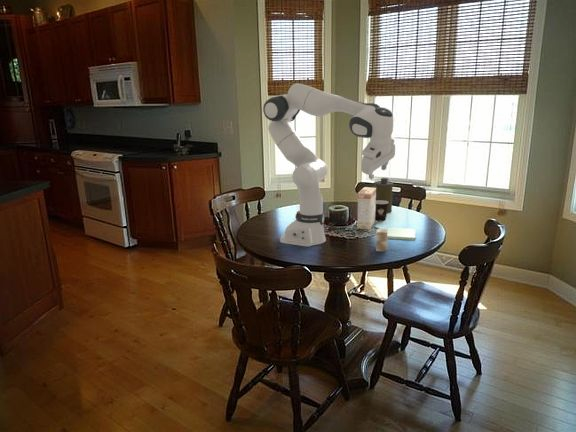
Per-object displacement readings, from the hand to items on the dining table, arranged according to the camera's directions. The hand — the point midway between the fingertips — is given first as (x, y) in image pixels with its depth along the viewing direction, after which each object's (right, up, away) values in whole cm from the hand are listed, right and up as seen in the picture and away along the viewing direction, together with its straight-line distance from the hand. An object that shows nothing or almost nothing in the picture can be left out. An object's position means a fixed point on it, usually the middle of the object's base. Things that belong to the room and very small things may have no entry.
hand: (377, 173), depth 186 cm
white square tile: (+17, -28, +26) cm, 42 cm away
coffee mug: (+11, -20, +53) cm, 58 cm away
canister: (+18, -16, +69) cm, 73 cm away
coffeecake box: (+3, -24, +42) cm, 49 cm away
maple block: (+3, -34, +6) cm, 35 cm away
